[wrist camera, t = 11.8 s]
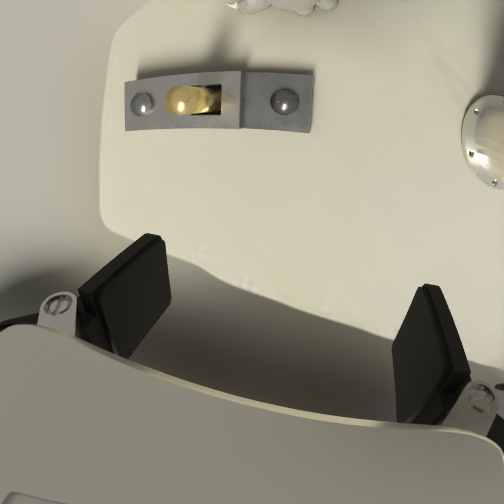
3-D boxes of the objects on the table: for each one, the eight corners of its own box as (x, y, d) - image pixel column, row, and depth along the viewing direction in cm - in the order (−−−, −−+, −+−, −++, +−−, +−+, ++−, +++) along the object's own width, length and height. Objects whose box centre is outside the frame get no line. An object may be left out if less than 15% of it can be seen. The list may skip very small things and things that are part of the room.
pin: (204, 89, 33) (164, 87, 24) (226, 89, 32) (192, 84, 23) (203, 111, 34) (164, 116, 25) (226, 111, 33) (191, 114, 25)
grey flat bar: (313, 76, 29) (311, 73, 26) (309, 132, 32) (308, 134, 29) (136, 82, 34) (122, 82, 31) (137, 128, 37) (122, 131, 34)
